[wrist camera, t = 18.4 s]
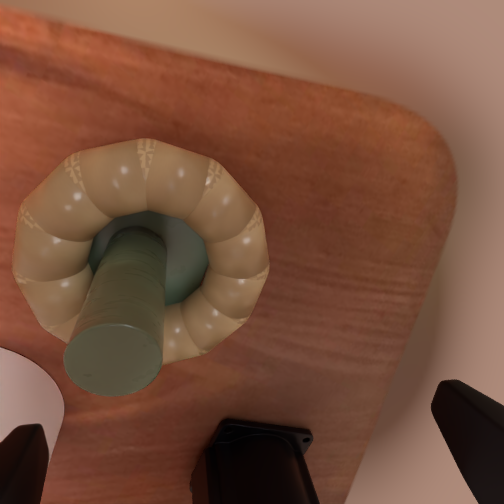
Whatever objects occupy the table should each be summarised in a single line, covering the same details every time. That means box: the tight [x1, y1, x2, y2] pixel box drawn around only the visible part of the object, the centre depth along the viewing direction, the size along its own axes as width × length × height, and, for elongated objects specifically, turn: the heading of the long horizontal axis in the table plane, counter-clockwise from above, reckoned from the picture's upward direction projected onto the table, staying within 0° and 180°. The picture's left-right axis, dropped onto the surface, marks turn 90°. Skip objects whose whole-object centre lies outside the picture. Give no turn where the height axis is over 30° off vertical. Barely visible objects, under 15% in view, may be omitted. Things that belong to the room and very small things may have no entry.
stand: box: [64, 210, 209, 396], centre depth 13 cm, size 6×6×8 cm
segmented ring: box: [11, 138, 270, 365], centre depth 14 cm, size 9×9×2 cm
